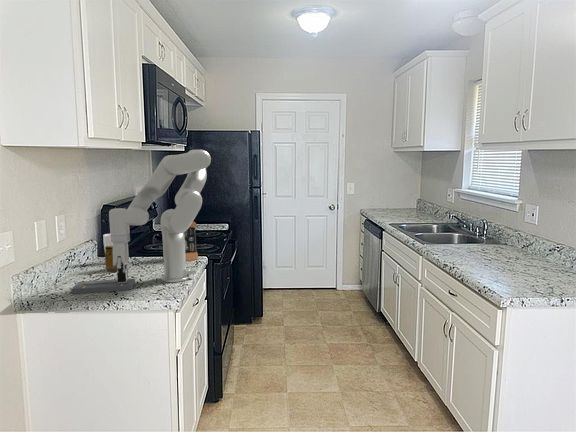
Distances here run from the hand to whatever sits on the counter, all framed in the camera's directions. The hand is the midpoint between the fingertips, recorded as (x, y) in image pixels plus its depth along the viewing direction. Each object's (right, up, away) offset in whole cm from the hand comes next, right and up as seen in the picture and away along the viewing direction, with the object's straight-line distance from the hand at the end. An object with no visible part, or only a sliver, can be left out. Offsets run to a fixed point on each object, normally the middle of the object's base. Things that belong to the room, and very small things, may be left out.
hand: (123, 279), depth 177 cm
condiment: (-15, 0, +26) cm, 30 cm away
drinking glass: (-22, +2, +40) cm, 46 cm away
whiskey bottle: (+15, +4, +49) cm, 51 cm away
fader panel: (-7, -3, -1) cm, 8 cm away
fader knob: (0, -1, 0) cm, 1 cm away
